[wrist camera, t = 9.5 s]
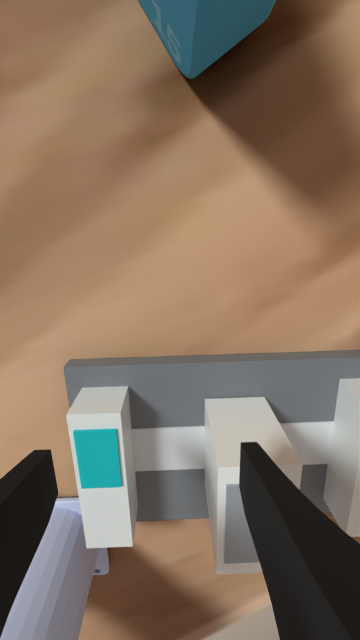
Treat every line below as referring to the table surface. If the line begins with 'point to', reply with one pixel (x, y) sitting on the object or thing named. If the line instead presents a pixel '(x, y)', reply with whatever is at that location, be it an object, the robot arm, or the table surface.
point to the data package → (203, 28)
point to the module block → (223, 474)
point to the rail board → (189, 432)
